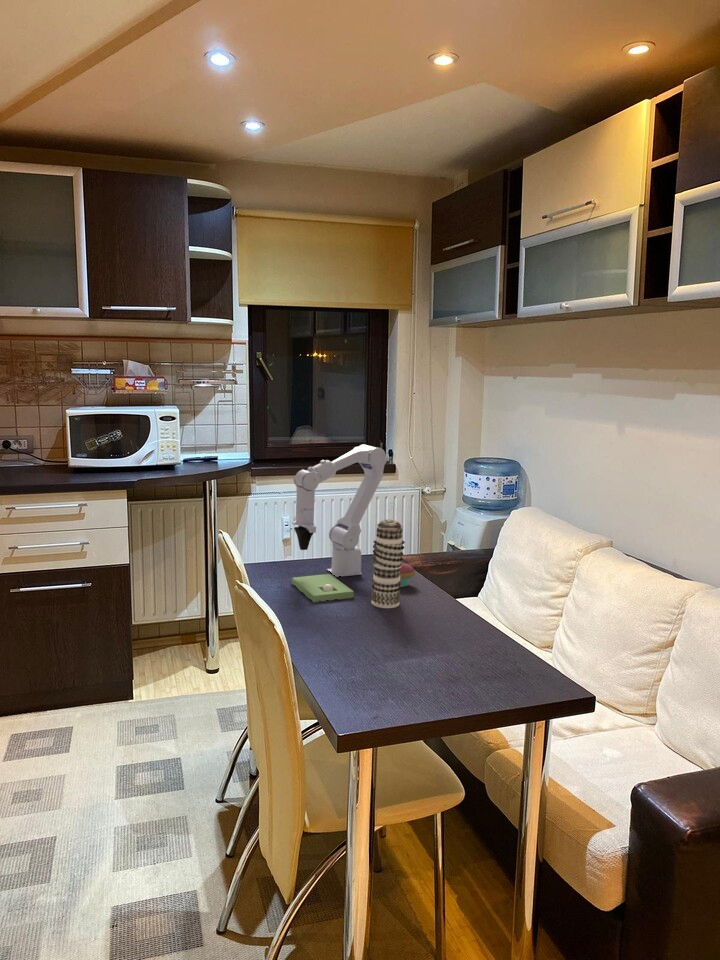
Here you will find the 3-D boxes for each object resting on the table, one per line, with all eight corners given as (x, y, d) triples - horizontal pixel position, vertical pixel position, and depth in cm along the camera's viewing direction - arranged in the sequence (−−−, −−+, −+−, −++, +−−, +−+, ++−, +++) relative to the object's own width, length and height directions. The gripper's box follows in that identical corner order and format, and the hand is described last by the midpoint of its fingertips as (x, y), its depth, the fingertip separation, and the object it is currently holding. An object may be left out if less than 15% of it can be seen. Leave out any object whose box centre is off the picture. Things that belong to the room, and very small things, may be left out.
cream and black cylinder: (401, 609, 209) (406, 526, 205) (369, 607, 209) (374, 524, 205) (400, 599, 218) (405, 518, 214) (370, 597, 218) (374, 517, 214)
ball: (330, 594, 220) (330, 583, 221) (335, 594, 217) (334, 583, 218) (321, 595, 219) (320, 584, 219) (325, 595, 216) (324, 584, 216)
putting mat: (329, 579, 233) (329, 573, 233) (353, 597, 217) (353, 591, 217) (291, 583, 228) (292, 577, 227) (313, 602, 212) (313, 595, 211)
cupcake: (382, 581, 234) (384, 546, 232) (405, 579, 238) (408, 544, 235) (395, 590, 226) (397, 553, 224) (418, 587, 230) (421, 551, 228)
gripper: (285, 503, 233) (284, 544, 236) (301, 513, 221) (300, 556, 223) (305, 502, 236) (304, 542, 239) (322, 512, 224) (321, 554, 226)
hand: (303, 549), depth 231 cm, fingers closed
